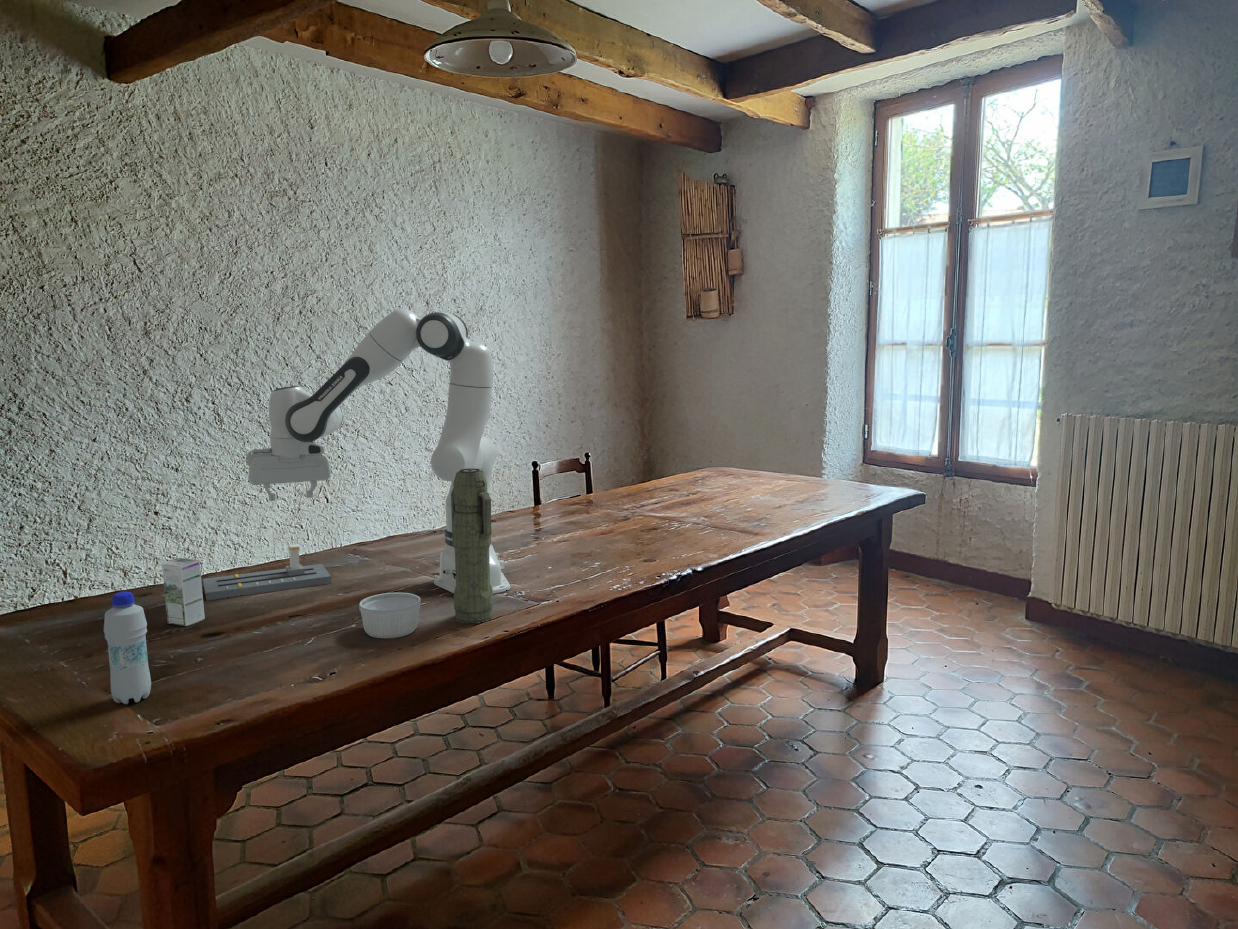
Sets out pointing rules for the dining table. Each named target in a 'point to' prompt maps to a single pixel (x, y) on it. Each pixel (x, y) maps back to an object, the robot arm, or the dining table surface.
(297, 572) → the fader
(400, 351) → the robot arm
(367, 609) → the ramekin
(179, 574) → the syrup box
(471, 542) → the thermos
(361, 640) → the dining table surface
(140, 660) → the bottle
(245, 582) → the console
